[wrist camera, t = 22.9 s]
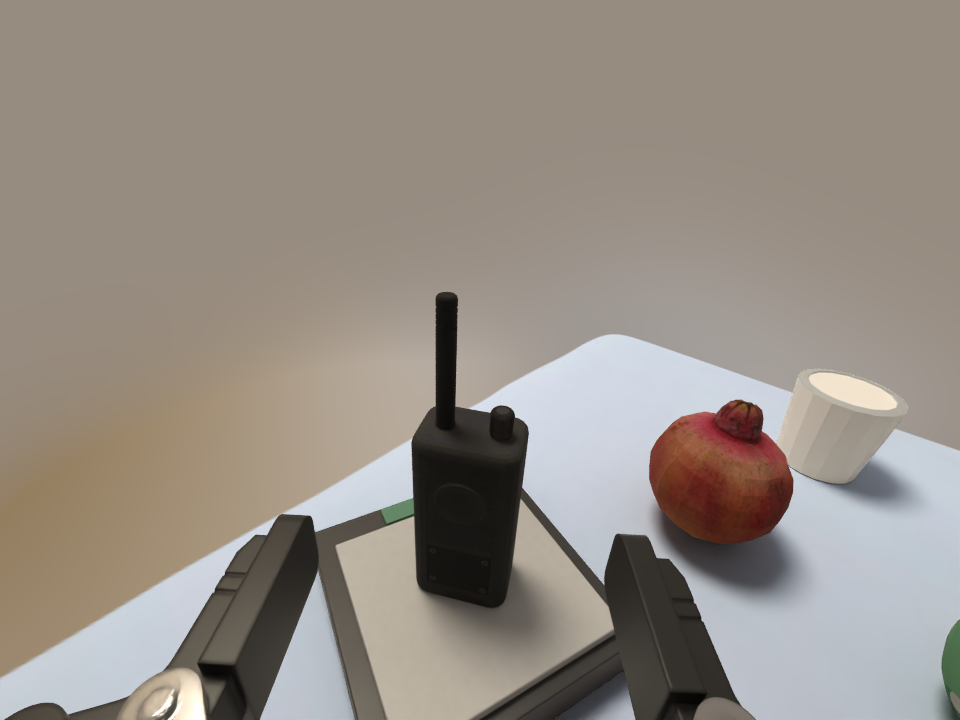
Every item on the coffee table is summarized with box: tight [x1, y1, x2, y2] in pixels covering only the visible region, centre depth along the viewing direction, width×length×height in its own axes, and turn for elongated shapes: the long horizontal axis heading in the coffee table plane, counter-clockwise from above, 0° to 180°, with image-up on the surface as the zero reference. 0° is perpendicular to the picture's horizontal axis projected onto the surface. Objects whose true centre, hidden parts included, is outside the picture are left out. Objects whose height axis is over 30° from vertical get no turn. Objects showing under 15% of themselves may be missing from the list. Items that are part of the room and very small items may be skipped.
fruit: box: [649, 400, 793, 544], centre depth 28 cm, size 8×8×10 cm
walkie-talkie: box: [412, 292, 529, 608], centre depth 19 cm, size 5×3×15 cm
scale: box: [315, 488, 624, 720], centre depth 23 cm, size 13×13×3 cm
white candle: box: [776, 369, 909, 484], centre depth 35 cm, size 7×7×7 cm
